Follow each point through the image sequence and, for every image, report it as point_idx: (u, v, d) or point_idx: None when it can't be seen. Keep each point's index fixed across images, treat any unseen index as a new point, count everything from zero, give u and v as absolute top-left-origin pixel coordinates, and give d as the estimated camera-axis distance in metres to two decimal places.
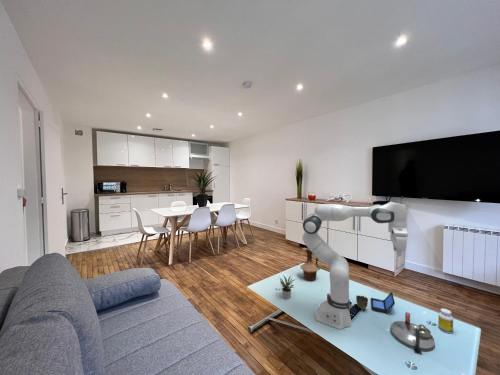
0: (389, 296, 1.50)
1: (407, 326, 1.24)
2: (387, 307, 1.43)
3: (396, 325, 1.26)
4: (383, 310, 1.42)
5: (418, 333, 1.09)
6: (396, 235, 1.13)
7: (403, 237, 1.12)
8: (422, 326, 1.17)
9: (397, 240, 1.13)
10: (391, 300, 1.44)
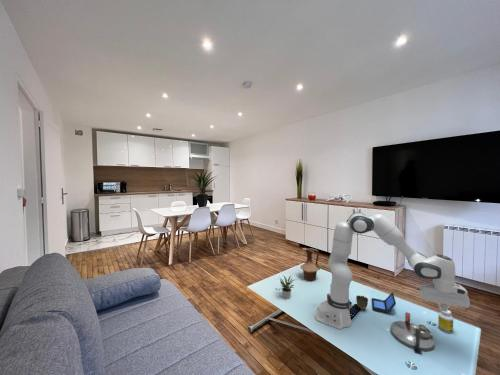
0: (390, 296, 1.49)
1: (407, 326, 1.24)
2: (388, 307, 1.42)
3: (396, 325, 1.26)
4: (384, 310, 1.42)
5: (418, 333, 1.09)
6: None
7: None
8: (422, 326, 1.17)
9: (468, 298, 1.07)
10: (392, 300, 1.44)
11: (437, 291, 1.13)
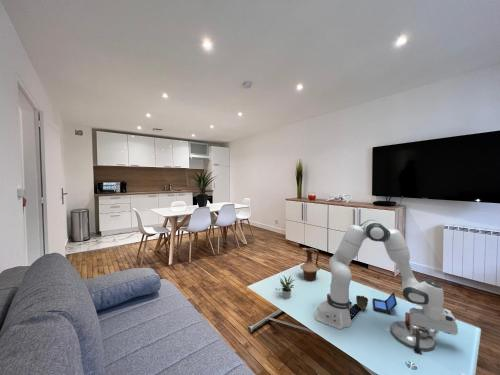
0: (391, 296, 1.49)
1: (407, 326, 1.24)
2: (389, 307, 1.42)
3: (396, 325, 1.26)
4: (385, 311, 1.42)
5: (418, 333, 1.09)
6: None
7: None
8: None
9: (456, 325, 1.10)
10: (393, 300, 1.44)
11: (426, 317, 1.15)
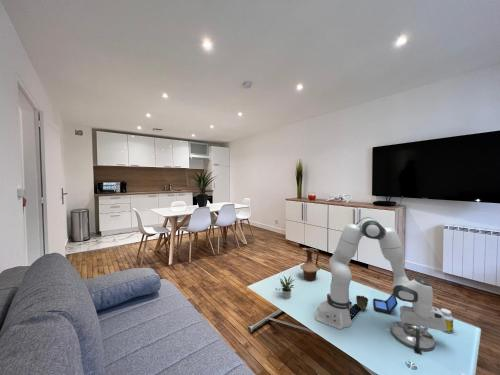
0: (391, 296, 1.49)
1: None
2: (390, 308, 1.42)
3: (396, 325, 1.26)
4: (386, 311, 1.42)
5: (418, 333, 1.09)
6: None
7: None
8: (411, 324, 1.19)
9: (445, 322, 1.12)
10: (393, 300, 1.44)
11: (416, 315, 1.17)
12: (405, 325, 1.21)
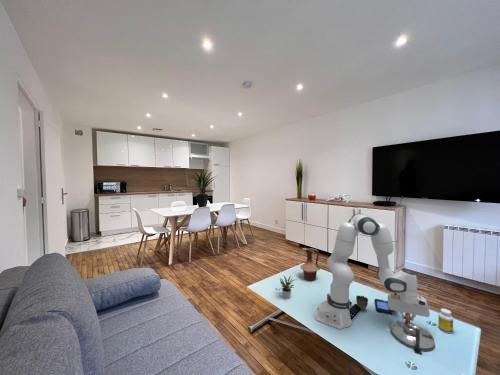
0: None
1: None
2: None
3: (396, 325, 1.26)
4: (388, 311, 1.41)
5: (418, 333, 1.09)
6: None
7: None
8: (411, 324, 1.19)
9: (428, 308, 1.21)
10: None
11: (402, 302, 1.27)
12: (405, 325, 1.21)
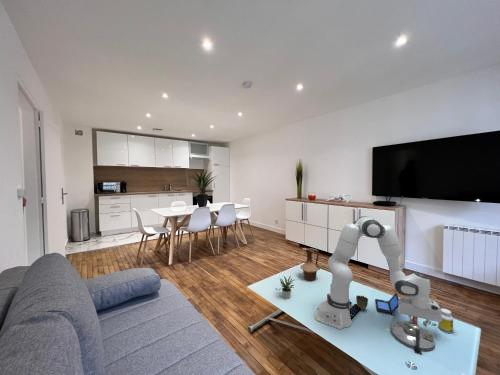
0: (394, 297, 1.48)
1: None
2: (392, 308, 1.41)
3: (399, 323, 1.27)
4: (388, 311, 1.41)
5: (418, 333, 1.09)
6: None
7: None
8: (411, 324, 1.20)
9: (441, 314, 1.18)
10: (396, 301, 1.43)
11: (413, 307, 1.23)
12: (406, 324, 1.22)
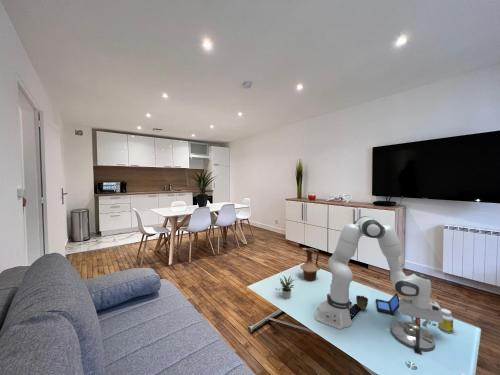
0: (394, 297, 1.48)
1: None
2: (393, 308, 1.41)
3: (401, 323, 1.27)
4: (389, 311, 1.41)
5: (418, 333, 1.09)
6: None
7: None
8: (411, 324, 1.20)
9: None
10: (396, 301, 1.43)
11: (414, 307, 1.22)
12: (406, 324, 1.22)
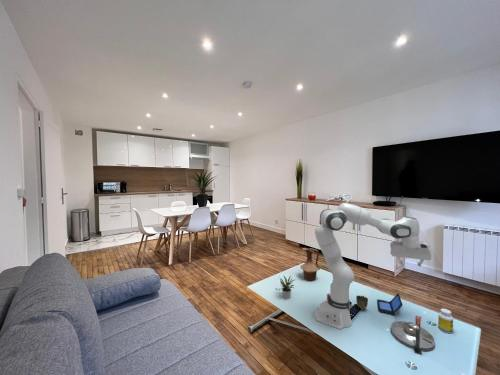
0: (396, 297, 1.48)
1: None
2: (394, 309, 1.41)
3: (401, 323, 1.27)
4: (390, 312, 1.41)
5: (418, 333, 1.09)
6: (428, 247, 1.24)
7: None
8: (411, 324, 1.20)
9: (430, 251, 1.24)
10: (398, 301, 1.42)
11: (404, 248, 1.29)
12: (406, 324, 1.22)
